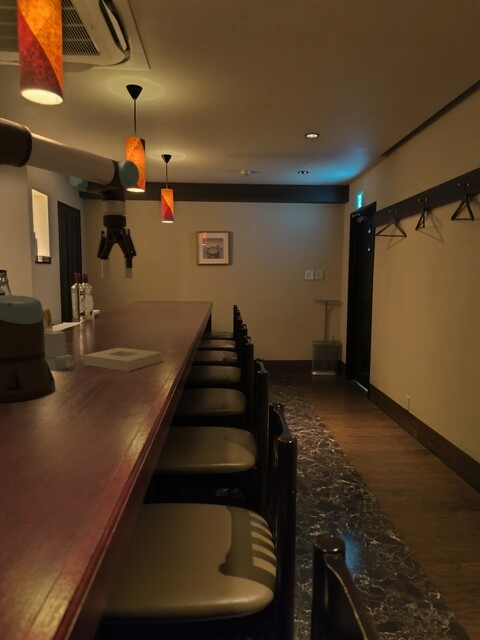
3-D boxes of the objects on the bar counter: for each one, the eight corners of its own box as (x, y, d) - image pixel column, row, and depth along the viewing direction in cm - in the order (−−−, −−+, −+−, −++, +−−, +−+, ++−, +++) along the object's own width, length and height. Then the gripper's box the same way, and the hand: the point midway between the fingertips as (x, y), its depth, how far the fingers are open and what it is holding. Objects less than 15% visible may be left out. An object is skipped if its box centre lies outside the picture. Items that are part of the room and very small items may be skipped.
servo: (62, 371, 124) (59, 331, 122) (36, 367, 130) (33, 328, 128) (73, 369, 127) (71, 329, 126) (48, 365, 133) (45, 327, 132)
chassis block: (128, 371, 123) (127, 361, 123) (83, 364, 133) (83, 355, 132) (162, 361, 136) (161, 352, 136) (119, 356, 146) (119, 347, 145)
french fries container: (55, 352, 154) (52, 303, 151) (49, 358, 143) (45, 305, 141) (41, 353, 152) (38, 303, 150) (34, 359, 142) (30, 305, 140)
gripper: (146, 212, 137) (147, 278, 140) (104, 219, 154) (106, 278, 156) (126, 210, 132) (128, 278, 134) (85, 217, 148) (87, 278, 150)
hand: (116, 278), depth 145 cm, fingers open, 13 cm apart
